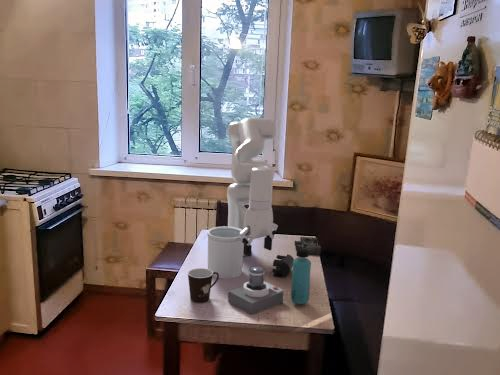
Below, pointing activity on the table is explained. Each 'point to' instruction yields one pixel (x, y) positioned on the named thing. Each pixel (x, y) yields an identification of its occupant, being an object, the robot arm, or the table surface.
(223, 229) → the utensil holder
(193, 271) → the coffee mug
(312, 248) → the binoculars
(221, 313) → the table surface
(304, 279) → the beverage bottle
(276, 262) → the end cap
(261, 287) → the lens
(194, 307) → the table surface
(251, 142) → the robot arm
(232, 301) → the camera body
